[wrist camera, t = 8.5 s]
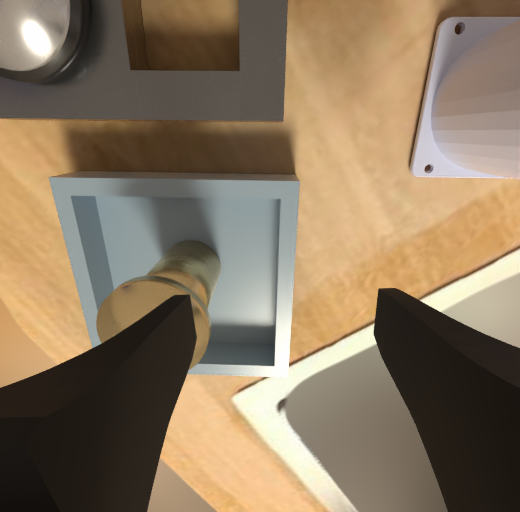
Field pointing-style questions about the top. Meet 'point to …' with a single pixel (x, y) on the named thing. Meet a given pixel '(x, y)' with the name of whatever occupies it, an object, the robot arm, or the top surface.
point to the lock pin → (166, 292)
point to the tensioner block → (131, 66)
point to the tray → (200, 229)
